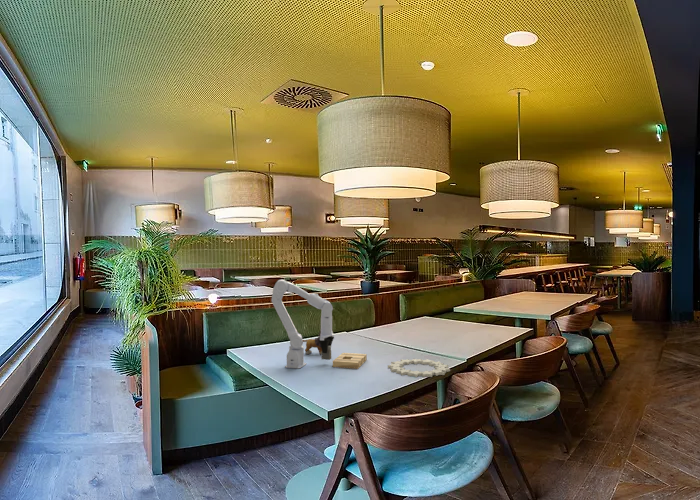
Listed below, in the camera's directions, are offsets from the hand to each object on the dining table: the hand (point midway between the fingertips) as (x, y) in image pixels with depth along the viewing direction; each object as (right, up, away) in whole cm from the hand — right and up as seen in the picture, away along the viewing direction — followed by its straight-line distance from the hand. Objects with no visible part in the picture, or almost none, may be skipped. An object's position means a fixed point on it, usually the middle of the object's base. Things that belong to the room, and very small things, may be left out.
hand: (326, 351), depth 226 cm
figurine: (-8, -7, +23) cm, 25 cm away
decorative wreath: (+46, -7, -9) cm, 47 cm away
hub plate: (+12, -6, +2) cm, 14 cm away
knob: (0, -4, 0) cm, 4 cm away
